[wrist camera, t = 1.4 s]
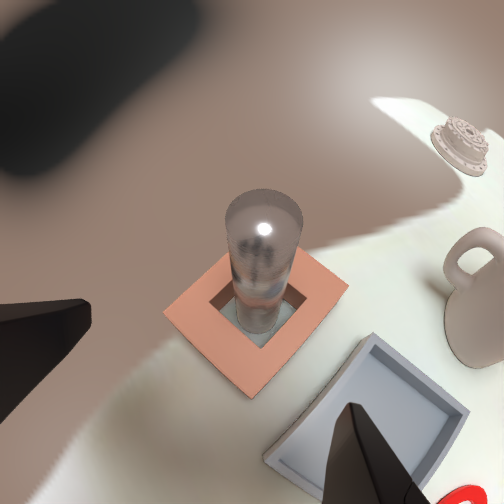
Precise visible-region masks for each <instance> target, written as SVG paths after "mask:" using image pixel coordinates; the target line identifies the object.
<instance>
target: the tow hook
mask: <svg viewBox="0 0 504 504" xmlns="http://www.w3.org/2000/svg"><path fill="white" fill-rule="evenodd" d="M466 500H469V501H470V502H471V503H472V504H487V495H486V493H485V491H484V489H483V488H481V487H480V486H473V485H467V486H463V487H460V488H458V489H456V490H454V491H452V492H451V493H450V494H448V495H447V496H446V497H444V498H443V499H442V500H441V501H440V502H439V503H438V504H459V503H461V502H463V501H466Z"/></svg>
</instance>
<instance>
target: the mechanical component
mask: <svg viewBox="0 0 504 504" xmlns="http://www.w3.org/2000/svg"><path fill="white" fill-rule="evenodd" d="M431 139H432V142H433V144H434V146H435V148H436V149H437V150H438V152H439V153H440V154H441V155H442V156H443V157H444V158H445V159H446V160H447V161H448V162H449V163H450V164H452V165H453V166H454V167H456V168H457V169H459V170H460V171H462V172H464V173H466V174H469V175H471V176H480V175H482V174H483V173H484V171H485V170H486V169H487V161H486V158H485V155H486V153H487V151H488V150H489V149H488V145H489V144H488V143H487V142H486V141H485V139H484V136H483V135H481V132H480V131H477V129H476V128H475V127H473V126H471V125H470V124H469V123H467V121H463V120H461V119H458V117H453V116H452V118H451V117H449V119H448V120H447V122H446V124H445V125H438V126H436V127H435V128H434V130H433V132H432V134H431Z"/></svg>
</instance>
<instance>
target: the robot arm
mask: <svg viewBox="0 0 504 504" xmlns="http://www.w3.org/2000/svg"><path fill="white" fill-rule="evenodd" d="M91 323H92V318H91V305H90V303H89V302H87V301H85V300H84V299H68V300H56V301H43V302H30V303H15V304H0V424H1V423H2V422H3V421H4V420H5V419H6V417H8V415H9V414H10V413H11V412H12V411H13V410H14V409H15V408H16V407H17V406H18V405H19V403H20V402H22V401H23V399H24V398H25V397H26V396H27V395H28V394H29V393H30V392H31V391H32V390H33V389H34V388H35V387H36V386H37V385H38V384H39V383H40V382H41V381H42V380H43V379H44V378H45V377H46V376H47V375H48V374H49V373H50V372H51V371H52V370H53V369H54V368H55V367H56V366H57V365H58V364H59V363H60V362H61V361H62V360H63V359H64V358H65V357H66V356H67V355H68V354H69V352H70V351H71V350H72V349H73V348H74V346H75V345H76V344H77V343H78V341H79V340H80V339H81V338H82V337H83V336H84V334H85V333H86V332H87V331H88V330H89V328H90V327H91ZM322 504H430V502H429V501H428V500H427V499H426V497H425V496H424V494H423V493H422V492H421V490H420V489H419V487H418V486H417V485H416V483H415V482H414V481H413V479H412V477H411V476H410V474H409V473H408V472H407V470H406V469H405V467H404V466H403V464H402V463H401V461H400V460H399V458H398V457H397V456H396V454H395V453H394V451H393V450H392V448H391V447H390V445H389V444H388V442H387V441H386V440H385V438H384V437H383V435H382V434H381V432H380V431H379V429H378V428H377V427H376V425H375V424H374V422H373V421H372V419H371V418H370V416H369V415H368V413H367V412H366V411H365V409H364V408H363V406H362V405H361V404H358V403H354V402H348V403H347V404H346V406H345V407H344V409H343V410H342V412H341V413H340V415H339V417H338V418H337V420H336V422H335V426H334V431H333V436H332V441H331V446H330V450H329V455H328V460H327V464H326V472H325V482H324V490H323V498H322Z"/></svg>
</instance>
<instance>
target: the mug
mask: <svg viewBox="0 0 504 504" xmlns="http://www.w3.org/2000/svg"><path fill="white" fill-rule="evenodd" d="M475 247H481V248H484V249H486V250H488V251H489V252H490V253H491V254H492V255H493V256H494V258H493V259H492V260H491V261H489V262H488V263H487V264H486V265H485V266H483V267H482V268H481V269H479V270H478V271H477V272H476V273H475V274H473V275H470V274H468V273H466V272H465V271H463V270H462V269H461V268H460V267H459V266H458V263H457V261H458V259H459V258H460V257H461V255H462V254H464V253H465V252H466V251H468V250H470V249H472V248H475ZM443 271H444V275H445V277H446V278H447V280H448V281H449V282H450V283H451V284H452V285H453V286H454V287H455V288H456V289H455V290H454V291H453V292H452V294H451V296H450V297H449V299H448V302H447V305H446V309H445V331H446V336H447V339H448V342H449V345H450V347H451V349H452V351H453V352H454V354H455V355H456V357H457V358H458V359H459V360H460V361H461V362H462V363H464V364H465V365H467V366H469V367H472V368H484V367H487V366H490V365H493V364H495V363H498V362H500V361H503V360H504V237H503V236H502V235H500V234H499V233H498V232H496V231H494V230H492V229H490V228H486V227H479V228H476V229H473V230H472V231H470V232H468V233H467V234H465V235H464V236H463V237H462V238H460V239H459V240H458V241H457V242H456V243H455V245H454V246H453V247H452V248H451V250H450V251H449V253H448V254H447V256H446V259H445V261H444V266H443Z"/></svg>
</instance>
